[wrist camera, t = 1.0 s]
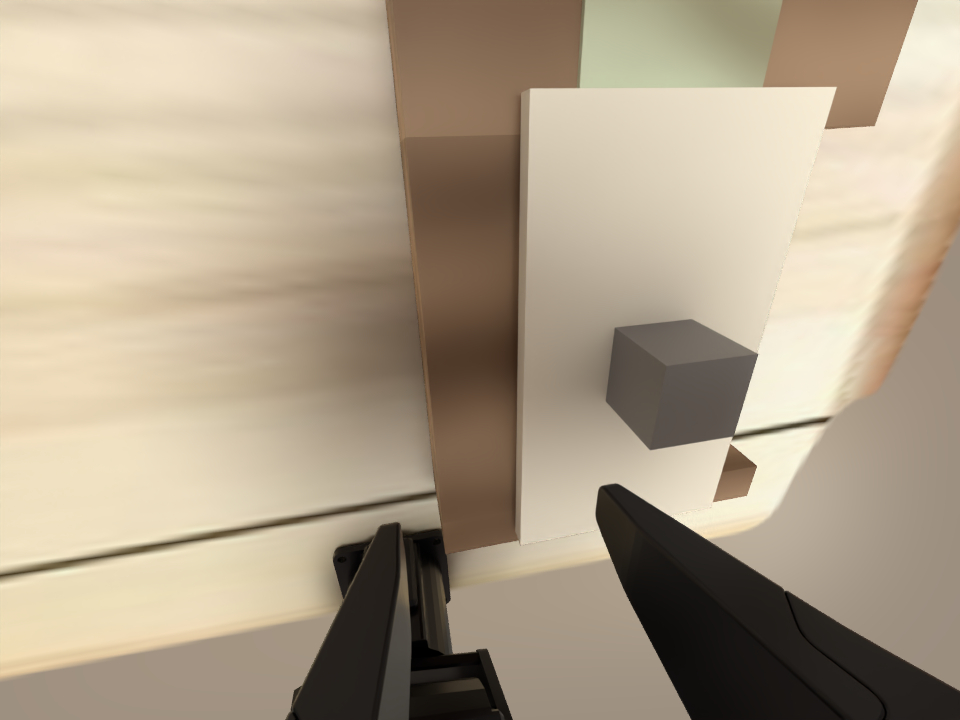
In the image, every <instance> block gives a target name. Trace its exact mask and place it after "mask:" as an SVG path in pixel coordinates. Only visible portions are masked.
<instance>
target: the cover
mask: <svg viewBox="0 0 960 720" xmlns="http://www.w3.org/2000/svg"><path fill="white" fill-rule="evenodd" d="M836 88H837V87H725V88H530V89H528V90H526V91H524V92H522V93H521V140H520V216H519V293H518V369H517V445H516V521H515V532H516V534H517V537H518V540H519V543H520V546H521V545H526V544H531V543H536V542H541V541H546V540H552V539H557V538H562V537H567V536H572V535H577V534H582V533H587V532H592V531H597V530H600V529H599V527H598V524H597V521H596V516H595V511H596V503H597V495H598V489H599V487H600V486H602V485H608V484H613V483H617V484H620V485H622V486H623V487H625V488H626V489H628V490H629V491H631V492H633V493H634V494H636V495H637V496H639V497H640V498H642V499H644V500H645V501H647V502H648V503H650V504H652V505H653V506H655V507H656V508H658V509H659V510H661V511H663V512H664V513H666V514H667V515H669V516H673V515H678V514H683V513H688V512H693V511H699V510H704V509H709V508H711V506H712V503H713V499H714V496H715V493H716V489H717V486H718V483H719V479H720V476H721V473H722V469H723V466H724V463H725V459H726V456H727V453H728V449H729V446H730V443H731V439H732V437H733V436H734V433H735V430H736V426H737V423H738V420H739V417H740V413H741V410H742V407H743V403H744V400H745V397H746V393H747V390H748V387H749V383H750V380H751V377H752V373H753V370H754V367H755V363H756V360H757V357H758V354H757V352H758V349H759V346H760V342H761V339H762V336H763V332H764V329H765V326H766V322H767V319H768V315H769V312H770V309H771V305H772V302H773V299H774V295H775V292H776V289H777V285H778V282H779V279H780V275H781V272H782V269H783V265H784V262H785V259H786V255H787V252H788V249H789V245H790V242H791V239H792V235H793V232H794V229H795V225H796V222H797V218H798V215H799V212H800V208H801V205H802V202H803V198H804V195H805V192H806V188H807V185H808V182H809V178H810V175H811V172H812V168H813V165H814V162H815V158H816V155H817V152H818V148H819V145H820V142H821V138H822V135H823V132H824V128H825V125H826V122H827V118H828V115H829V111H830V108H831V105H832V101H833V98H834V95H835V91H836Z"/></svg>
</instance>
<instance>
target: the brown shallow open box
mask: <svg viewBox="0 0 960 720" xmlns="http://www.w3.org/2000/svg"><path fill="white" fill-rule="evenodd" d="M917 2H918V0H386V10H387V19H388V29H389V39H390V49H391V59H392V69H393V78H394V88H395V98H396V108H397V118H398V128H399V137H400V147H401V157H402V167H403V177H404V187H405V196H406V206H407V216H408V226H409V236H410V245H411V255H412V265H413V275H414V285H415V295H416V304H417V314H418V324H419V334H420V344H421V354H422V363H423V373H424V383H425V393H426V403H427V413H428V422H429V432H430V442H431V452H432V462H433V471H434V481H435V488H436V494H437V501H438V507H439V514H440V521H441V527H442V534H443V541H444V547H445V554H450V553H455V552H460V551H465V550H471V549H476V548H481V547H486V546H491V545H496V544H501V543H507V542H512V541H517V540H518V537H517V534H516V532H515V521H516V445H517V369H518V293H519V216H520V140H521V93H522V92H524V91H526V90H528V89H530V88H725V87H837V88H836V91H835V95H834V98H833V101H832V105H831V108H830V111H829V115H828V118H827V122H826V125H825V128H824V129H835V128H850V127H866V126H875V123H876V120H877V118H878V115H879V112H880V109H881V106H882V103H883V100H884V97H885V94H886V91H887V89H888V86H889V83H890V80H891V77H892V74H893V71H894V68H895V65H896V63H897V60H898V57H899V54H900V51H901V48H902V45H903V42H904V39H905V36H906V34H907V31H908V28H909V25H910V22H911V19H912V16H913V13H914V10H915V8H916V5H917ZM756 468H757V466H756V465H755V464H754V463H753V462H752V461H750V460H749V459H748V458H747V457H746V456H744V455H743V454H742V453H741V452H740V451H738V450H737V449H736V448H735V447H734V446H732V445H731V444H730V446H729V449H728V453H727V456H726V459H725V463H724V466H723V469H722V473H721V476H720V479H719V483H718V486H717V489H716V493H715V496H714V499H713V502H717V501H722V500H727V499H732V498H738V497H743V496H747V494H748V491H749V488H750V485H751V482H752V479H753V476H754V474H755V471H756Z"/></svg>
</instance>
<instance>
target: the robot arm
mask: <svg viewBox="0 0 960 720" xmlns="http://www.w3.org/2000/svg"><path fill="white" fill-rule="evenodd" d="M595 516H596V521H597V524H598V527H599V529H600V532H601V534H602V537H603V539H604V542H605V544H606V547H607V549H608V552H609V554H610V557H611V559H612V562H613V564H614V566H615V569H616V572H617V574H618V577H619V579H620V582H621V584H622V586H623V589H624V591H625V593H626V595H627V597H628V599H629V601H630V603H631V605H632V607H633V609H634V611H635V612H636V614H637V616H638V618H639V620H640V622H641V624H642V626H643V628H644V630H645V631H646V633H647V635H648V637H649V639H650V641H651V643H652V645H653V647H654V649H655V651H656V653H657V654H658V656H659V658H660V660H661V662H662V664H663V666H664V668H665V670H666V672H667V674H668V676H669V678H670V679H671V681H672V683H673V685H674V687H675V689H676V691H677V693H678V695H679V697H680V699H681V701H682V703H683V704H684V706H685V708H686V710H687V712H688V714H689V716H690V718H691V720H960V691H959V690H957V689H955V688H953V687H952V686H950V685H948V684H946V683H944V682H943V681H941V680H939V679H937V678H936V677H934V676H932V675H930V674H928V673H927V672H925V671H923V670H921V669H919V668H917V667H916V666H914V665H912V664H910V663H909V662H907V661H905V660H903V659H901V658H900V657H898V656H896V655H894V654H892V653H891V652H889V651H887V650H885V649H883V648H881V647H880V646H878V645H876V644H874V643H873V642H871V641H870V640H868V639H866V638H864V637H863V636H861V635H859V634H857V633H856V632H854V631H852V630H850V629H848V628H847V627H845V626H843V625H842V624H840V623H839V622H836V621H835V620H834V619H832V618H830V617H829V616H827V615H826V614H824V613H822V612H821V611H819V610H817V609H816V608H814V607H812V606H811V605H809V604H808V603H806V602H804V601H803V600H801V599H800V598H798V597H796V596H795V595H793V594H792V593H790V592H789V591H784V589H783V588H782V587H781V586H779V585H777V584H776V583H774V582H772V581H771V580H770V579H768V578H766V577H765V576H763V575H762V574H760V573H758V572H757V571H755V570H754V569H752V568H751V567H749V566H748V565H746V564H744V563H743V562H741V561H740V560H738V559H737V558H735V557H733V556H732V555H730V554H729V553H727V552H725V551H724V550H722V549H721V548H719V547H718V546H716V545H714V544H713V543H711V542H710V541H708V540H707V539H705V538H703V537H702V536H700V535H699V534H697V533H696V532H694V531H692V530H691V529H689V528H688V527H686V526H685V525H683V524H681V523H680V522H678V521H677V520H675V519H674V518H672V517H670V516H669V515H667V514H666V513H664V512H663V511H661V510H659V509H658V508H656V507H655V506H653V505H652V504H650V503H648V502H647V501H645V500H644V499H642V498H640V497H639V496H637V495H636V494H634V493H633V492H631V491H629V490H628V489H626V488H625V487H623V486H622V485H620V484H617V483H613V484H608V485H602V486H600V487H599V489H598V495H597V503H596V511H595ZM333 563H334V566H335V570H336V574H337V577H338V581H339V585H340V588H341V592H342V595H343V599H344V600H343V602H342V604H341V606H340V608H339V610H338V612H337V614H336V616H335V619H334V621H333V623H332V625H331V627H330V629H329V631H328V633H327V635H326V637H325V639H324V641H323V643H322V646H321V647H320V650H319V652H318V654H317V656H316V658H315V660H314V662H313V664H312V666H311V668H310V670H309V673H308V674H307V676H306V678H305V681H304V683H303V685H302V686H300V687H299V688H297V689H296V690H294V694H293V700H292V706H291V712H289V714H288V715H287V717H286V719H285V720H513V719H512V716H511V714H510V711H509V708H508V705H507V703H506V700H505V697H504V694H503V691H502V689H501V686H500V684H499V680H498V677H497V675H496V672H495V669H494V666H493V663H492V661H491V658H490V655H489V652H488V650H487V649H478V650H476V652H468V653H458V654H453V652H452V645H451V638H450V630H449V623H448V616H447V608H446V604H447V603H448V602H449V601H450V599H451V598H450V587H449V577H448V566H447V556H446V554H445V547H444V541H443V534H442V531H439V530H438V531H431V532H425V533H420V534H414V535H409V536H402V529H401V525H400V523H398V522H394V523H389V524H383V525H381V526H380V527H379V528H378V530H377V532H376V534H375V536H374V538H373V540H372V542H371V543H365V544H360V545H355V546H349V547H344V548H340V549H337V550H336V551H335V552H334V556H333Z"/></svg>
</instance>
